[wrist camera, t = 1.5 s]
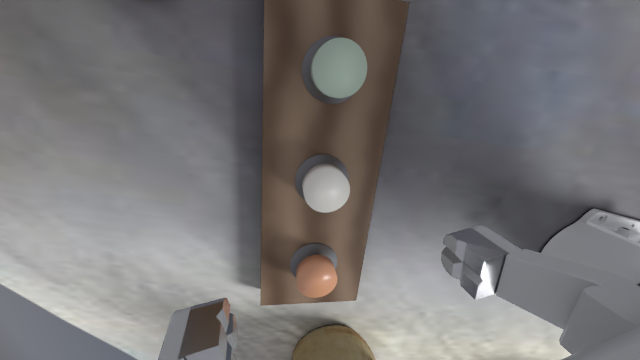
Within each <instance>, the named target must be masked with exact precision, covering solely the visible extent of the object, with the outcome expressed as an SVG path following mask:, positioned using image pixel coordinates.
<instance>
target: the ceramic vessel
mask: <svg viewBox="0 0 640 360" xmlns="http://www.w3.org/2000/svg"><path fill="white" fill-rule="evenodd" d="M292 360H375V358H374V355H373V353H372V352H371V350H370V348H369V346H368V345H367V343H366V342H365V340H364V339H363V338H362V337H361V336H360V335H359V334H358V333H357V332H355V331H354V330H352V329H351V328H348V327H346V326H340V325H331V326H325V327H321V328H318V329H316V330H314V331H312V332H310V333H308V334H307V335H306V336H305V337H304V338H302V339H301V340H300V341H299V343H298V344H297V346H296V347H295V350H294V352H293V356H292Z"/></svg>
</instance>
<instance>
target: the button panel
mask: <svg viewBox="0 0 640 360" xmlns="http://www.w3.org/2000/svg"><path fill="white" fill-rule="evenodd" d="M409 3H410V2H405V1H399V0H264V59H263V141H262V223H261V305H280V304H298V303H317V302H335V301H354V300H356V298H357V293H358V287H359V281H360V276H361V270H362V265H363V259H364V254H365V248H366V242H367V237H368V231H369V226H370V220H371V215H372V209H373V203H374V198H375V192H376V187H377V181H378V176H379V170H380V164H381V159H382V153H383V148H384V142H385V137H386V131H387V125H388V120H389V114H390V109H391V103H392V98H393V92H394V86H395V81H396V75H397V70H398V64H399V59H400V53H401V47H402V42H403V36H404V31H405V25H406V20H407V14H408V8H409ZM334 38H348V39H350V40H352V41H354V42H355V43H357V44H358V45H359V46H360V47H361V49H362V50H363V52H364V54H365V57H366V60H367V74H366V78H365V81H364V83H363V85H362V86H361V87H360V89H359V90H358V91H357V92H356V93H354V94H353V95H351V96H349V97H345V98H334V97H329V96H326V95H324V94H322V93H321V92H320V91H319V90H318V89H317V88H316V87H315V85H314V83H313V81H312V78H311V62H312V59H313V57H314V55H315V53H316V52H317V50H318V49H319V48H320V47H321V46H322V45H323V44H325V43H326V42H327V41H329V40H331V39H334ZM320 164H331V165H334V166H336V167H337V168H339V169H340V170H341V171H342V173H343V174H344V175H345V177H346V178H347V180H348V182H349V185H350V194H349V197H348V199H347V201H346V203H345V204H344V205H343V206H342V207H341V208H339V209H338V210H335V211H333V212H328V213H322V212H318V211H315V210H313V209H312V208H311V207H310V206H309V205H308V204H307V202H306V200H305V198H304V193H303V189H302V183H303V179H304V176H305V175H306V173H307V172H308V171H309V170H310V169H311V168H313V167H314V166H317V165H320ZM311 255H323V256H326V257H328V258H329V259H330V260H331V261H332V262H333V264H334V268H335V271H336V274H337V284H336V286H335V288H334V289H333V290H332V291H331V292H330V293H329V294H327V295H325V296H322V297H318V298H311V297H307V296H305V295H303V294H302V293H301V292H300V291H299V289H298V287H297V278H296V269H297V266H298V264H299V263H300V262H301V261H302V260H303V259H304V258H306V257H308V256H311ZM261 305H260V306H261Z"/></svg>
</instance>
